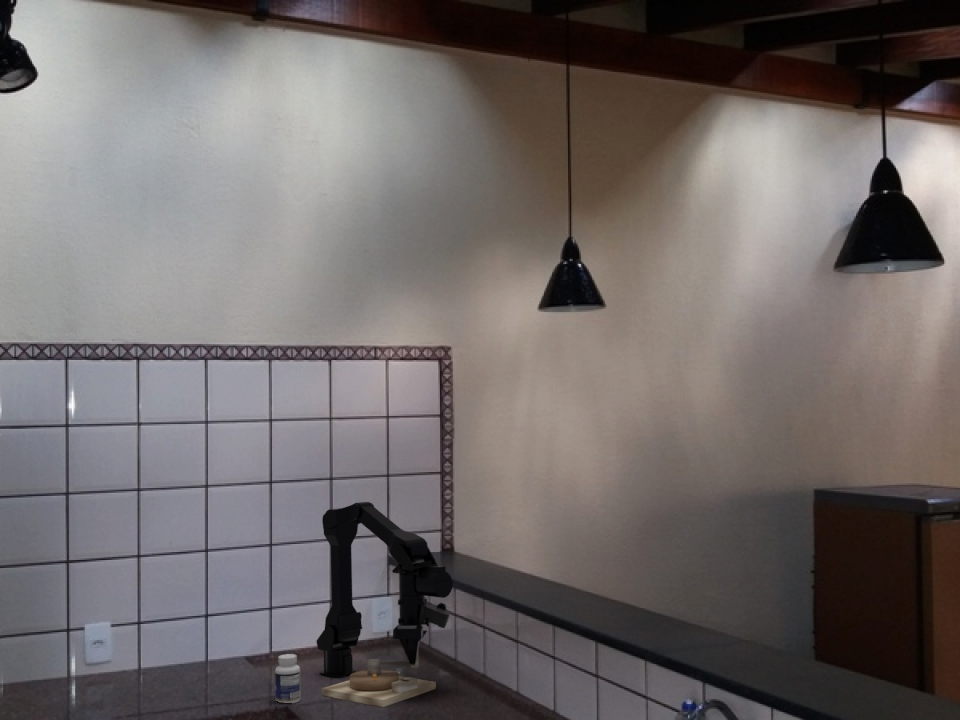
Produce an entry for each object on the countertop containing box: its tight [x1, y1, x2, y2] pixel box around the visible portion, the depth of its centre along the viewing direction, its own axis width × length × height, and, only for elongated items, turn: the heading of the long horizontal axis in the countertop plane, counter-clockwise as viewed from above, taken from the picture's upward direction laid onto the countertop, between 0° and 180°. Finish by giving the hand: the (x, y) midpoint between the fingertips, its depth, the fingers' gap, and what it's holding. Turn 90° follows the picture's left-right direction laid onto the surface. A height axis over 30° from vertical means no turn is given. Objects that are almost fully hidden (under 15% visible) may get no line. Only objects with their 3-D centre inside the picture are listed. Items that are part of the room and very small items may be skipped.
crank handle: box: [349, 650, 420, 690], centre depth 238 cm, size 11×16×7 cm
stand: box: [321, 675, 437, 708], centre depth 238 cm, size 18×18×4 cm
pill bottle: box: [274, 653, 301, 704], centre depth 232 cm, size 5×5×10 cm
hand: (412, 664), depth 238 cm, fingers closed
